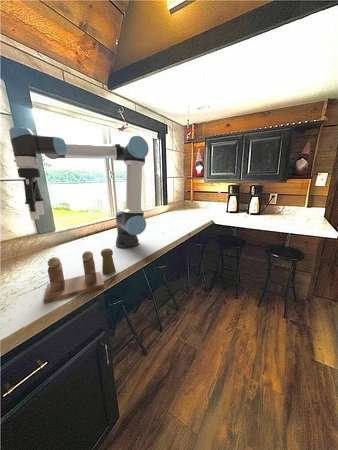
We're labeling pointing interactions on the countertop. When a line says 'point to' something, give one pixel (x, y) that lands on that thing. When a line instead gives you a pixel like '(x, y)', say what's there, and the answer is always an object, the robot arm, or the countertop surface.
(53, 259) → the wooden peg board
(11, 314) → the countertop surface
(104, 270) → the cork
